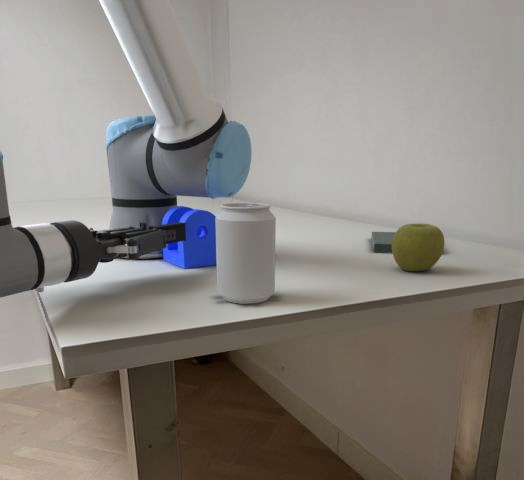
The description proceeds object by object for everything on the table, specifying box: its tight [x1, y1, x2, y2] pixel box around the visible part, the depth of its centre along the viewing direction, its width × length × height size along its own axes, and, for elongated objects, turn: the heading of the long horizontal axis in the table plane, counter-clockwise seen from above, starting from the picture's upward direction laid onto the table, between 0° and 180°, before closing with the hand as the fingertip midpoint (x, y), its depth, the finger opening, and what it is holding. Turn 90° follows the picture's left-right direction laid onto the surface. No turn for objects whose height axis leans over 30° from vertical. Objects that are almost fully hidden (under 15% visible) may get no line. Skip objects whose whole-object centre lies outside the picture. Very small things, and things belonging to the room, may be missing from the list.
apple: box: [392, 223, 445, 272], centre depth 87 cm, size 8×8×7 cm
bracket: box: [162, 205, 217, 269], centre depth 96 cm, size 18×8×9 cm, turn 123°
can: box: [215, 202, 277, 305], centre depth 70 cm, size 8×8×12 cm
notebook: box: [370, 231, 396, 254], centre depth 110 cm, size 12×16×2 cm
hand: (181, 231), depth 87 cm, fingers closed
